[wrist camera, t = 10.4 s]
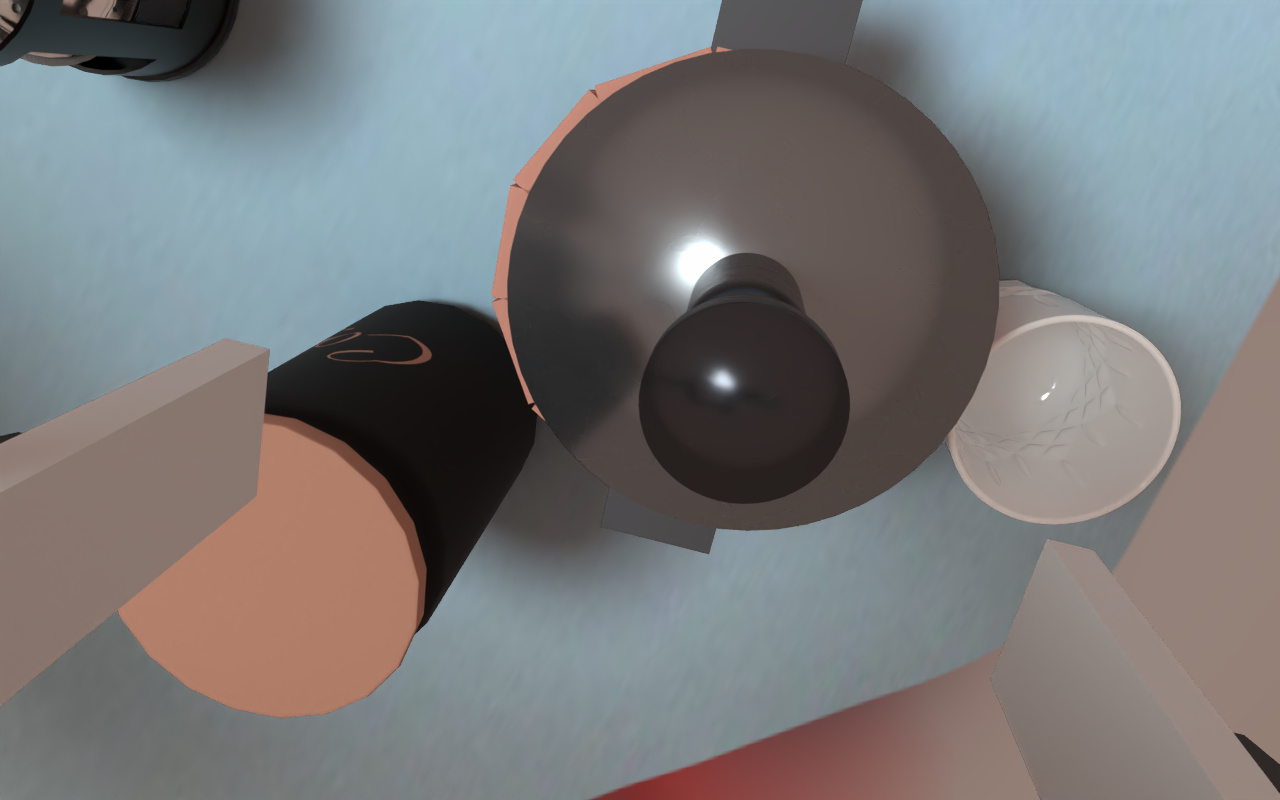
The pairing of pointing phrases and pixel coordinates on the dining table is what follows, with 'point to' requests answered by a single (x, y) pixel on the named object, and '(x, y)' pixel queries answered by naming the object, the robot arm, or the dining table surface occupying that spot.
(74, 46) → the french press
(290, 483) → the coffee jar
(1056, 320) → the white cup
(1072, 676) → the robot arm
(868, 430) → the lid
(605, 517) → the pot
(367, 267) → the dining table surface
